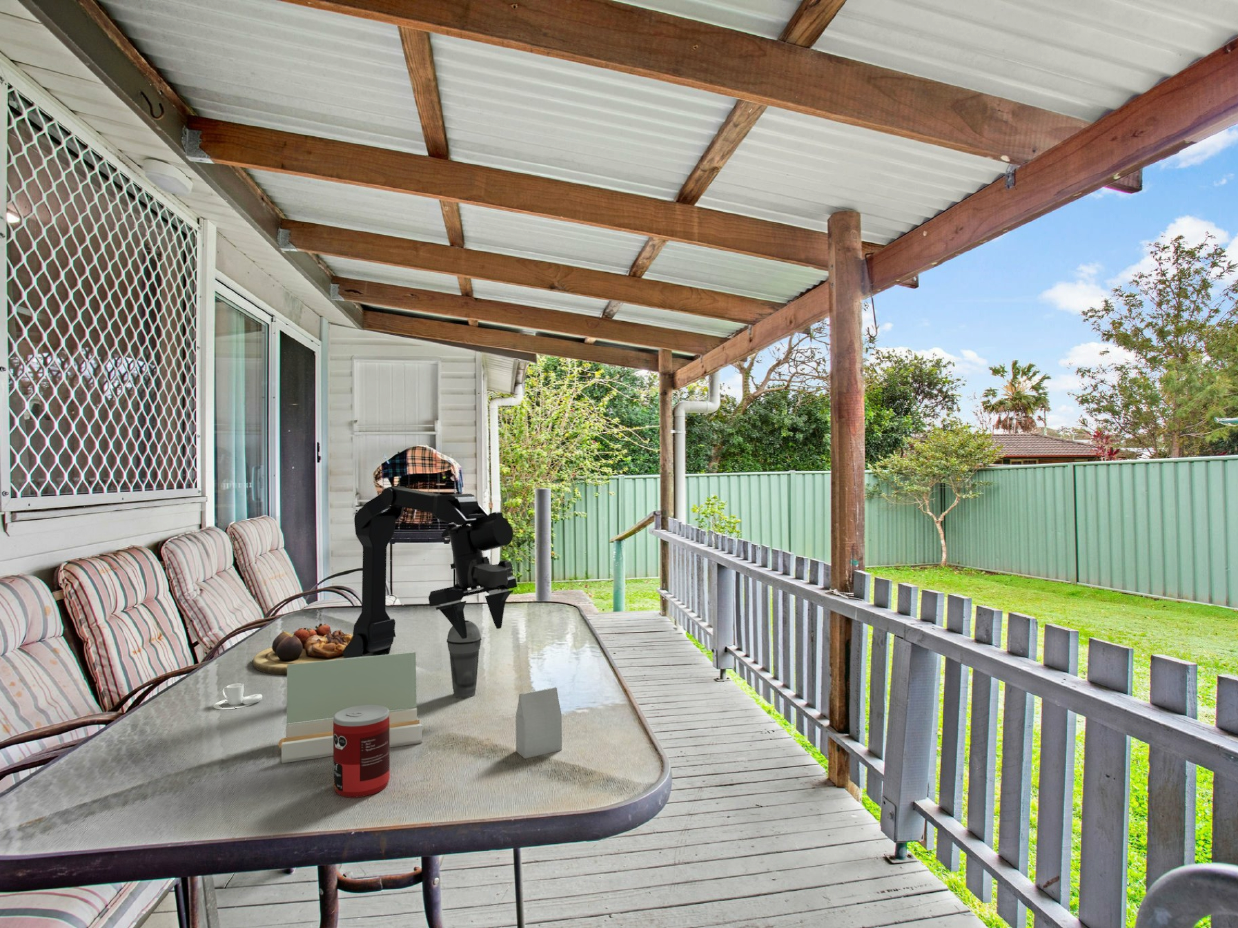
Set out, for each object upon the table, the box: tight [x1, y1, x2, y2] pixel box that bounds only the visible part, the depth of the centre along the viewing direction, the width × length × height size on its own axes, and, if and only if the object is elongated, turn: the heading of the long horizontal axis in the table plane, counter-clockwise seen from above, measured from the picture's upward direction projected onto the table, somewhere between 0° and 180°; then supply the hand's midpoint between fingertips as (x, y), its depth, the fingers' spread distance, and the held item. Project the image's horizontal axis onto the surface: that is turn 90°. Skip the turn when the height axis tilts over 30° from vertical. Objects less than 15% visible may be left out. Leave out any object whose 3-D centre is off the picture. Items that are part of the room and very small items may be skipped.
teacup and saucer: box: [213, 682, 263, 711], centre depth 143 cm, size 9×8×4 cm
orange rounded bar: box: [277, 719, 421, 750], centre depth 121 cm, size 2×23×2 cm, turn 111°
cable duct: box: [281, 707, 423, 764], centre depth 121 cm, size 10×22×3 cm, turn 111°
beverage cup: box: [446, 619, 483, 699], centre depth 147 cm, size 7×7×20 cm
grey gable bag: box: [515, 686, 563, 759], centre depth 117 cm, size 4×7×10 cm, turn 121°
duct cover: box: [286, 651, 418, 725], centre depth 127 cm, size 10×22×2 cm
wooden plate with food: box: [252, 622, 353, 676], centre depth 178 cm, size 32×32×8 cm
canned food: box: [332, 705, 391, 798], centre depth 104 cm, size 8×8×11 cm
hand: (482, 633), depth 137 cm, fingers open, 9 cm apart
